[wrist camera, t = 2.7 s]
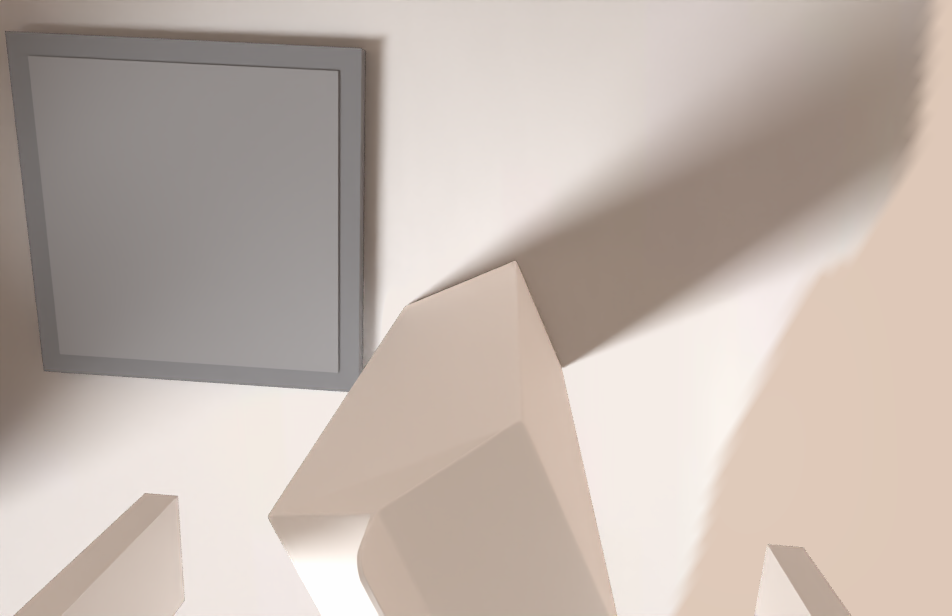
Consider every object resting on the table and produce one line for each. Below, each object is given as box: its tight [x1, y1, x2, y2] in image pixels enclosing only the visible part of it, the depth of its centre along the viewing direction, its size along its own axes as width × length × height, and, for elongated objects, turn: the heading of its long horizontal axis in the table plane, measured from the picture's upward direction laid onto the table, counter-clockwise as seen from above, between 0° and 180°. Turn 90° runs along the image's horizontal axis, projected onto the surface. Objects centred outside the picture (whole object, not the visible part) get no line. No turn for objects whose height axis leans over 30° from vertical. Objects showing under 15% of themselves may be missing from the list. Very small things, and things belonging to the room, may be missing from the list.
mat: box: [5, 31, 365, 392], centre depth 31 cm, size 16×16×1 cm
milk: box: [268, 261, 617, 616], centre depth 22 cm, size 6×6×22 cm
